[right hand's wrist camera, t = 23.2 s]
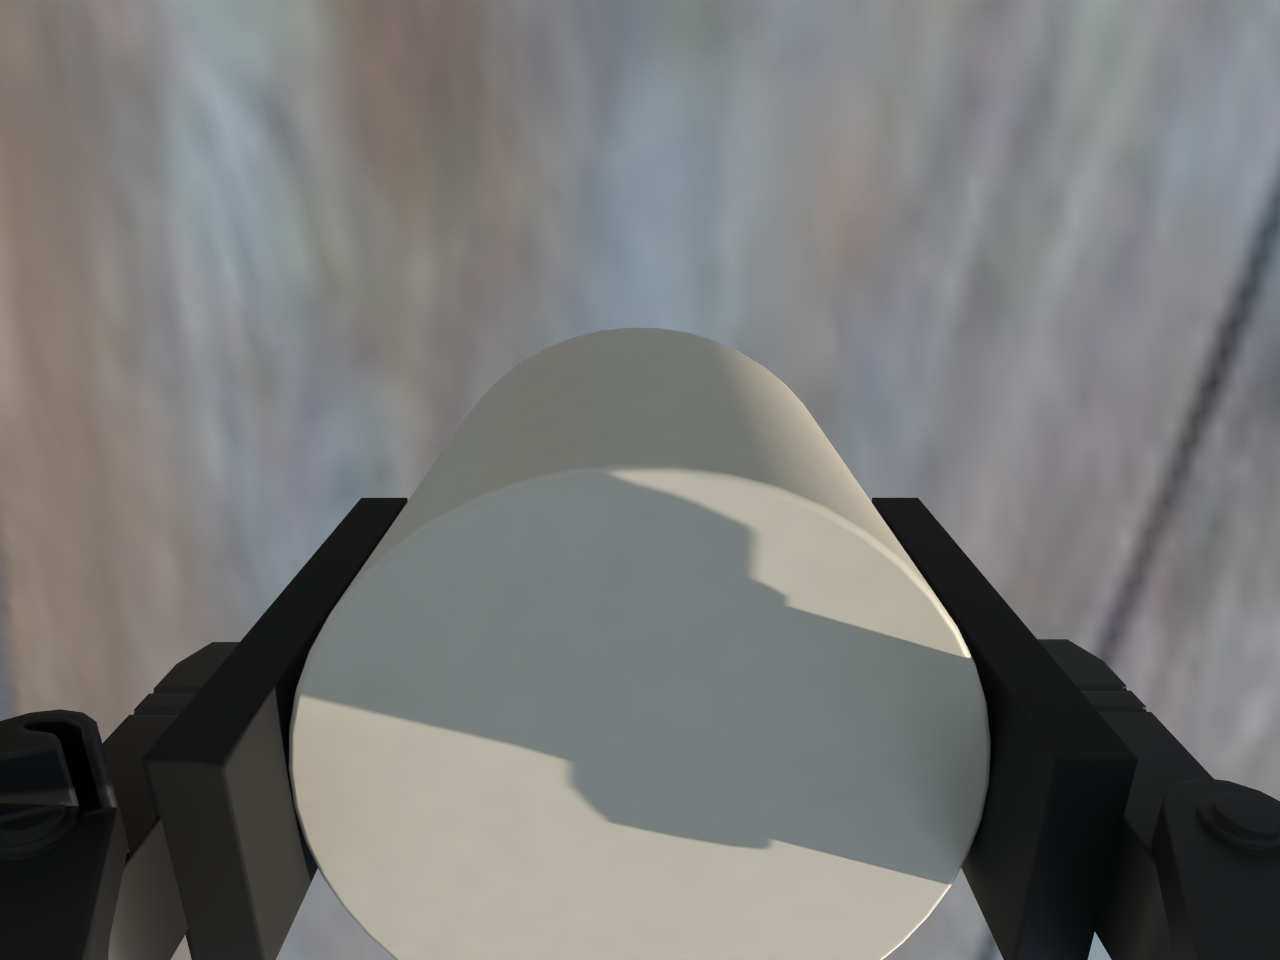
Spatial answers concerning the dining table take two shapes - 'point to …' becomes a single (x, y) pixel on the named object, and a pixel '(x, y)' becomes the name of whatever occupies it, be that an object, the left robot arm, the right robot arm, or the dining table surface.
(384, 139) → the dining table surface
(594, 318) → the dining table surface
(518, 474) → the canister
